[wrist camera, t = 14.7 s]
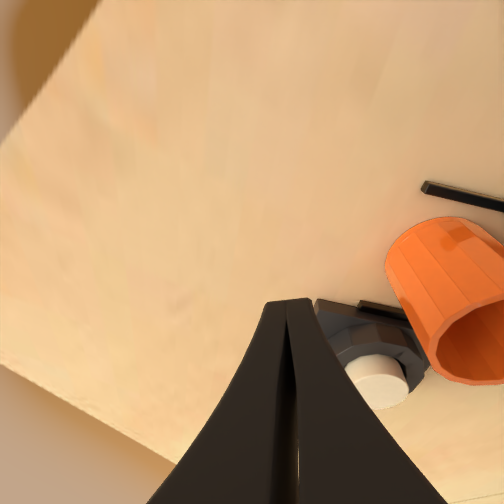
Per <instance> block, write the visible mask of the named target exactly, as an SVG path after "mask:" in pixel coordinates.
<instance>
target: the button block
mask: <svg viewBox="0 0 504 504" xmlns="http://www.w3.org/2000/svg"><path fill="white" fill-rule="evenodd" d="M314 311H315V314H316V317H317V319H318V322H319V324H320V326H321V328H322V330H323V332H324V334H325V336H326V338H327V340H328V342H329V344H330V346H331V347H332V349H333V351H334V353H335V354H336V356H337V358H338V360H339V361H340V363H341V365H342V366H343V368H345V366H346V365H347V364H348V363H349V362H351V361H353V360H355V359H357V358H358V357H360V356H367V355H374V354H380V355H385V356H390V357H392V358H394V359H395V360H396V361H397V362H398V363H399V365H400V367H401V369H402V372H403V374H404V377H405V379H406V382H407V384H408V387H409V393H411V392H412V391H413V390H414V389H415V388H416V386H417V385H418V384H419V383H420V382H421V381H422V379H423V378H424V372H425V371H426V370H427V368H428V367H429V366H430V365H431V364H430V362H429V360H428V358H427V356H426V354H425V352H424V350H423V348H422V346H421V344H420V342H419V340H418V338H417V336H416V334H415V332H414V330H413V328H412V326H411V324H410V322H407V321H403V320H398V319H393V318H389V317H384V316H379V315H375V314H370V313H365V312H361V311H359V310H358V307H353V306H349V305H344V304H339V303H335V302H330V301H325V300H321V299H317V301H316V303H315V305H314ZM409 393H408V394H409Z"/></svg>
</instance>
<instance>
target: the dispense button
mask: <svg viewBox="0 0 504 504" xmlns="http://www.w3.org/2000/svg"><path fill="white" fill-rule="evenodd" d="M344 370H345V371H346V373H347V374H348V376H349V377H350V379H351V380H352V382H353V384H354V385H355V387H356V388H357V390H358V391H359V392H360V394H361V395H362V397H363V398H364V400H365V401H366V403H367V404H368V405H369V407H370V408H371V409H372V410H379V409H386V408H390V407H393V406H396V405H398V404H399V403H401V402H402V401H404V400H405V399H406V397H407V395H408V393H409V387H408V384H407V382H406V379H405V377H404V374H403V372H402V369H401V367H400V365H399V363H398V362H397V361H396V360H395V359H394V358H392V357H390V356H385V355H380V354H374V355H367V356H360V357H358V358H357V359H355V360H353V361H351V362H349V363H348V364H347V365H346V366H345V368H344Z"/></svg>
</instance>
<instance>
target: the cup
mask: <svg viewBox="0 0 504 504" xmlns="http://www.w3.org/2000/svg"><path fill="white" fill-rule="evenodd" d="M385 271H386V275H387V278H388V280H389V282H390V284H391V286H392V288H393V290H394V292H395V294H396V296H397V298H398V300H399V302H400V304H401V306H402V308H403V310H404V312H405V314H406V316H407V318H408V320H409V322H410V324H411V326H412V328H413V330H414V332H415V334H416V336H417V338H418V340H419V342H420V344H421V346H422V348H423V350H424V352H425V354H426V356H427V358H428V360H429V362H430V364H431V366H432V368H433V370H434V371H436V372H437V373H439V374H440V375H442V376H443V377H445V378H446V379H448V380H450V381H454V382H458V383H463V384H467V385H473V386H474V385H498V384H499V385H500V384H504V246H503V245H502V244H501V243H499V242H498V241H497V240H496V239H495V238H493V237H492V236H491V235H490V234H488V233H487V232H486V231H485V230H484V229H482V228H481V227H480V226H478V225H477V224H475V223H473V222H471V221H469V220H466V219H463V218H458V217H441V218H435V219H431V220H428V221H425V222H422V223H420V224H418V225H416V226H414V227H412V228H411V229H409V230H408V231H406V232H405V233H404V234H402V235H401V236H400V237H399V238H398V239H397V240H396V241H395V243H394V244H393V245H392V247H391V248H390V250H389V252H388V255H387V258H386V262H385Z"/></svg>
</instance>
